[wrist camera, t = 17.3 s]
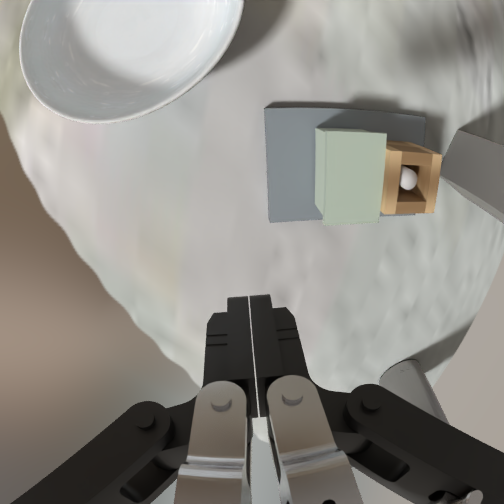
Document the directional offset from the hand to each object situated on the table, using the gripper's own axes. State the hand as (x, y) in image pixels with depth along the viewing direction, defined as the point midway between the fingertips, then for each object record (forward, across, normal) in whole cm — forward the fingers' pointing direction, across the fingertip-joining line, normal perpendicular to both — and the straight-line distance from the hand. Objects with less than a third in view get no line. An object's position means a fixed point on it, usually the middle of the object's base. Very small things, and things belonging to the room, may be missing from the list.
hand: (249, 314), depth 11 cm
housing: (+20, -10, 0) cm, 23 cm away
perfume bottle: (+22, -29, -1) cm, 36 cm away
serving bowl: (+22, +9, -17) cm, 29 cm away
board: (+22, -12, 0) cm, 25 cm away
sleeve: (+21, -16, 0) cm, 26 cm away
